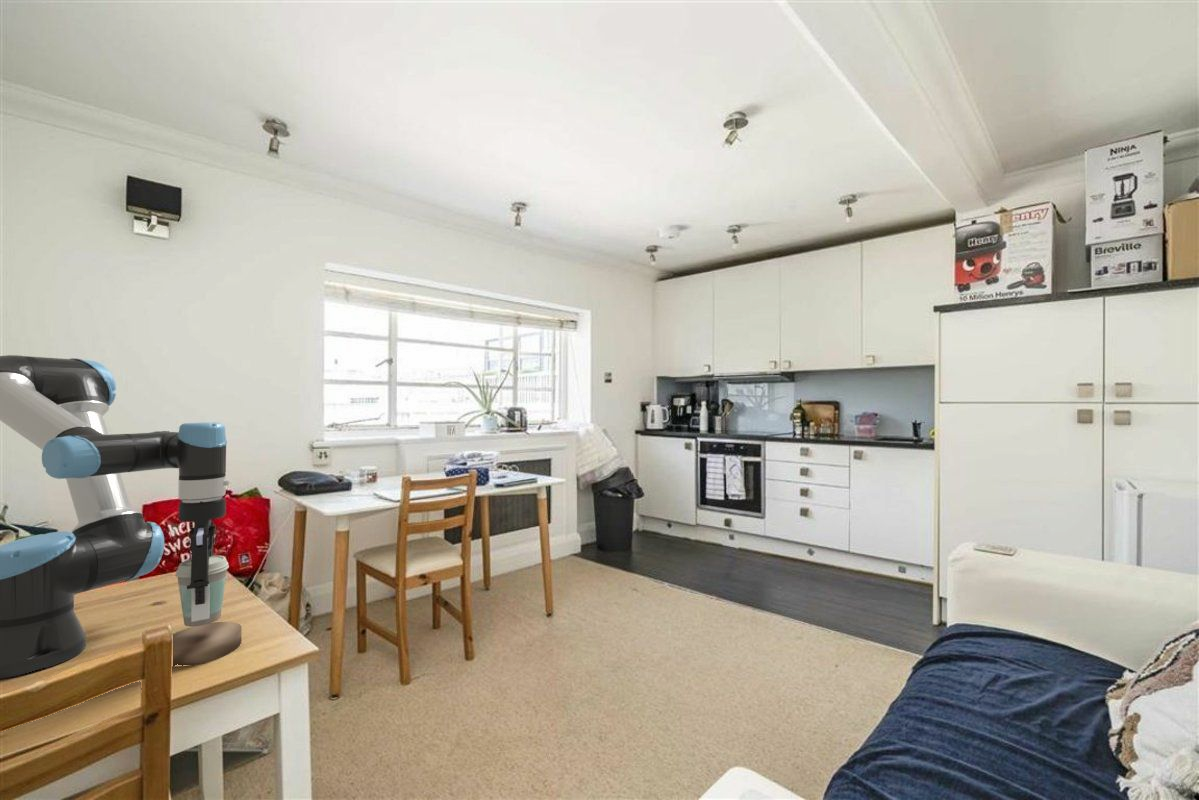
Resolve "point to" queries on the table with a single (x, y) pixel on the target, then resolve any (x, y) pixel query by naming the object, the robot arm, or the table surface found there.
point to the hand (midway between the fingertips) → (202, 612)
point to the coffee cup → (216, 589)
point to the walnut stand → (205, 642)
